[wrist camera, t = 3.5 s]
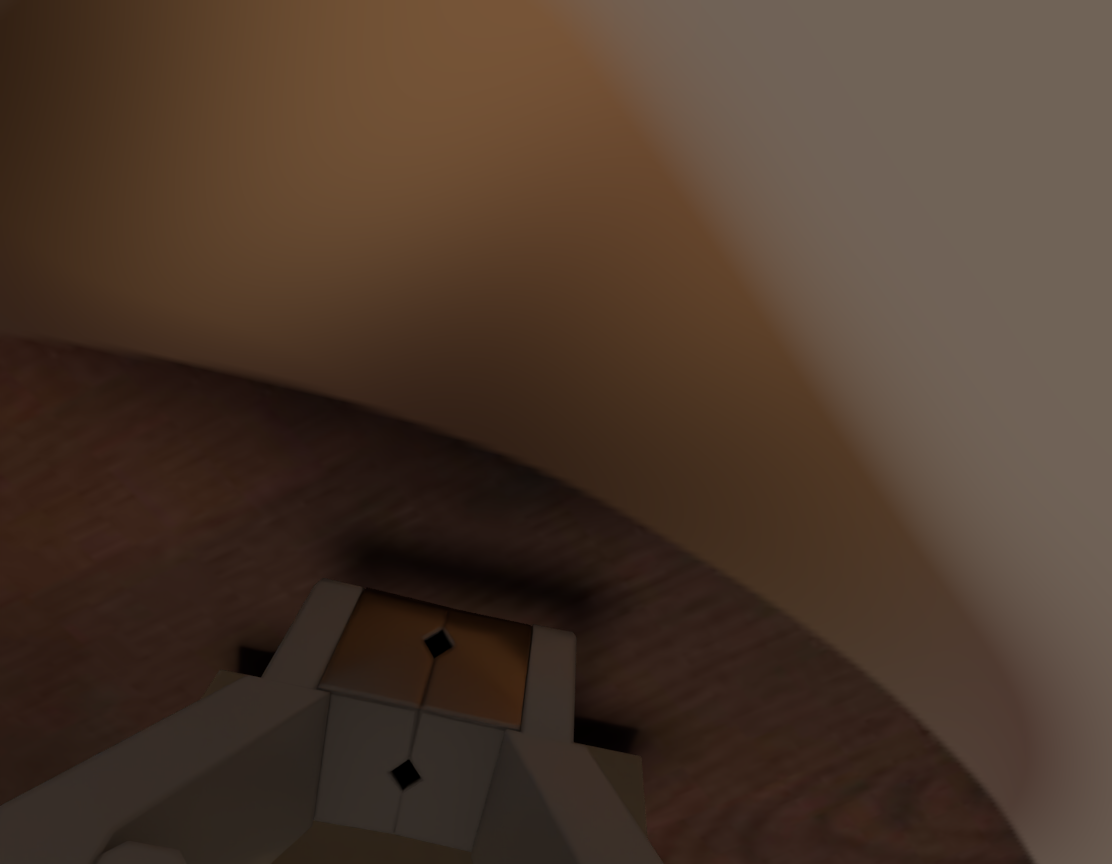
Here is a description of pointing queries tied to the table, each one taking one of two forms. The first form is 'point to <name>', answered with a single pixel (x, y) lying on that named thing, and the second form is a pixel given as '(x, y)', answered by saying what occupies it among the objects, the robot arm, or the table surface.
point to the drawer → (391, 860)
